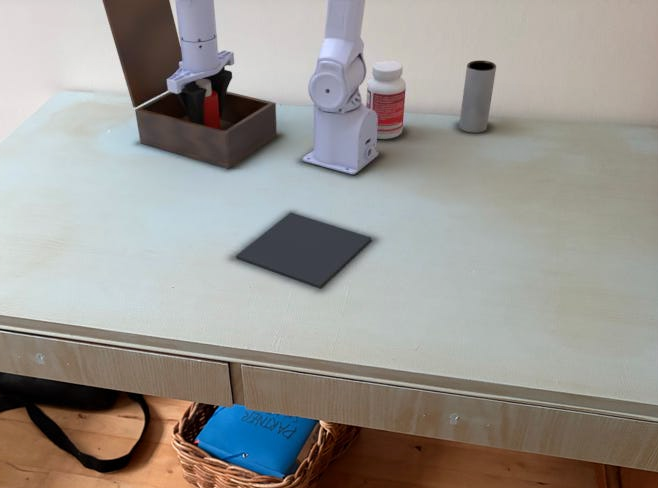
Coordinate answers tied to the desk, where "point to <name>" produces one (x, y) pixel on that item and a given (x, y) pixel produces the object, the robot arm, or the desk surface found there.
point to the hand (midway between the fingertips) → (206, 121)
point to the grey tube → (477, 96)
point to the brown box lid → (144, 45)
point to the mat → (304, 249)
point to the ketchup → (210, 105)
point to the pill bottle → (387, 98)
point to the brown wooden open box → (208, 129)
